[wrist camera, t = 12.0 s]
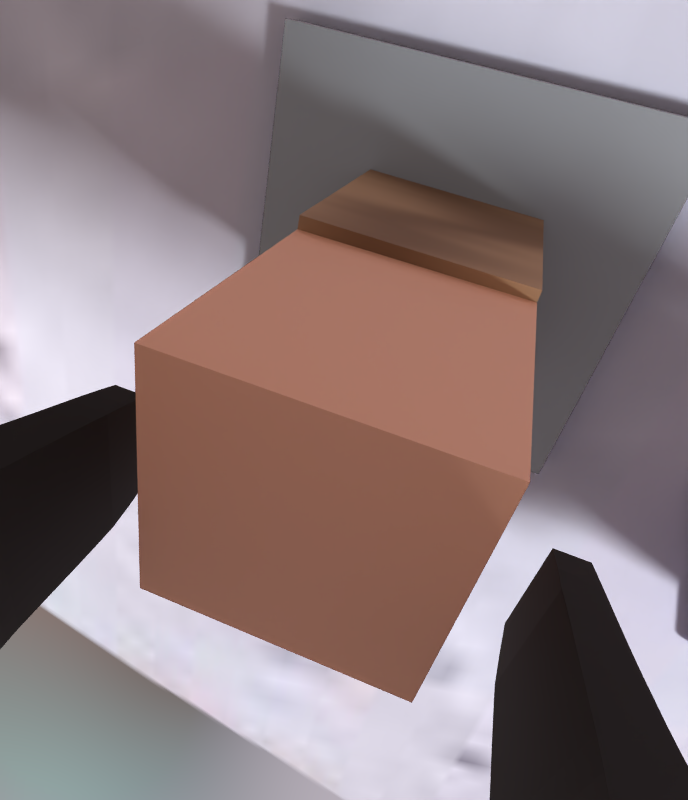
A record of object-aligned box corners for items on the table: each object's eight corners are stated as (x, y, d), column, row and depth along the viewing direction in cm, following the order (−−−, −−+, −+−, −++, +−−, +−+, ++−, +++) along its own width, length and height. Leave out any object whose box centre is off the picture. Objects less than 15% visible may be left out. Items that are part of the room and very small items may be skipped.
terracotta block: (536, 302, 10) (530, 481, 6) (457, 487, 12) (411, 702, 8) (297, 229, 10) (134, 342, 6) (269, 419, 13) (139, 587, 9)
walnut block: (543, 220, 14) (542, 290, 10) (480, 372, 16) (458, 478, 12) (370, 169, 14) (299, 214, 10) (336, 323, 17) (268, 409, 13)
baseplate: (715, 123, 12) (725, 127, 12) (538, 459, 18) (538, 473, 17) (297, 20, 14) (285, 18, 13) (255, 361, 19) (245, 372, 19)
